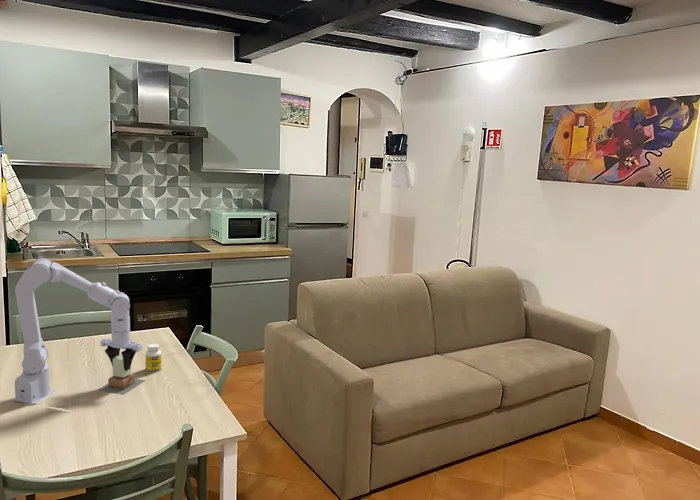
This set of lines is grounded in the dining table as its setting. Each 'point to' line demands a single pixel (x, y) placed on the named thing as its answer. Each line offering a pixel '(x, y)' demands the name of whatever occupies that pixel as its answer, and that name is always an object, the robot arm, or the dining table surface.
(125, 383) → the walnut block
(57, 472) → the dining table surface
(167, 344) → the dining table surface
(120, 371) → the sage pillar
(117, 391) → the mat
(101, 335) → the dining table surface
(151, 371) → the supplement bottle
